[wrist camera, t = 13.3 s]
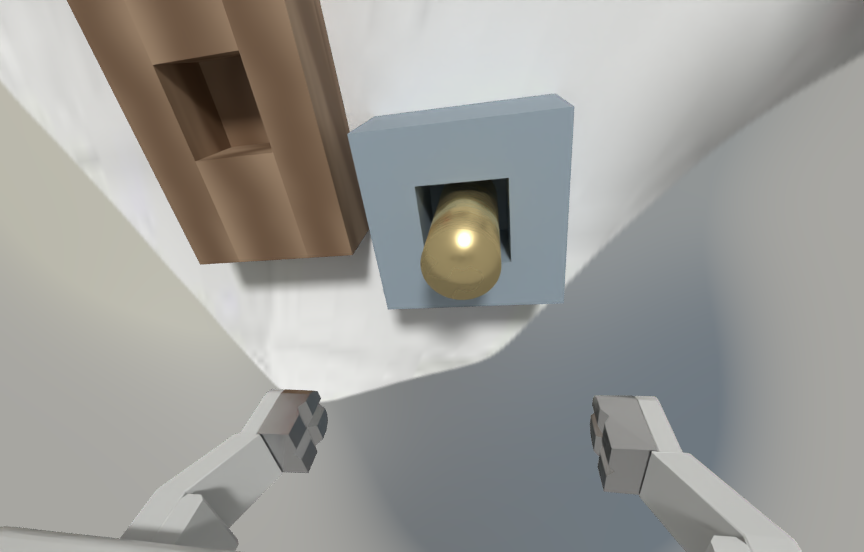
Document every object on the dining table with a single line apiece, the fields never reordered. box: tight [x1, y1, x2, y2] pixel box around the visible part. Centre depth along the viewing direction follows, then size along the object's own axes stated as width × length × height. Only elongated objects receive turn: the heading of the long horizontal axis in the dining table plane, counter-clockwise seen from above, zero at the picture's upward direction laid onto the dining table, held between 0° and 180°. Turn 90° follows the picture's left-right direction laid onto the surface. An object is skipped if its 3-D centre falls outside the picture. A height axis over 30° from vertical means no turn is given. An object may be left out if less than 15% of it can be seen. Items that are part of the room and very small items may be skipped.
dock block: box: [347, 94, 574, 309], centre depth 25 cm, size 12×12×6 cm
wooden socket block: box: [67, 0, 369, 264], centre depth 24 cm, size 12×20×5 cm, turn 8°
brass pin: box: [420, 180, 501, 300], centre depth 23 cm, size 4×4×10 cm
